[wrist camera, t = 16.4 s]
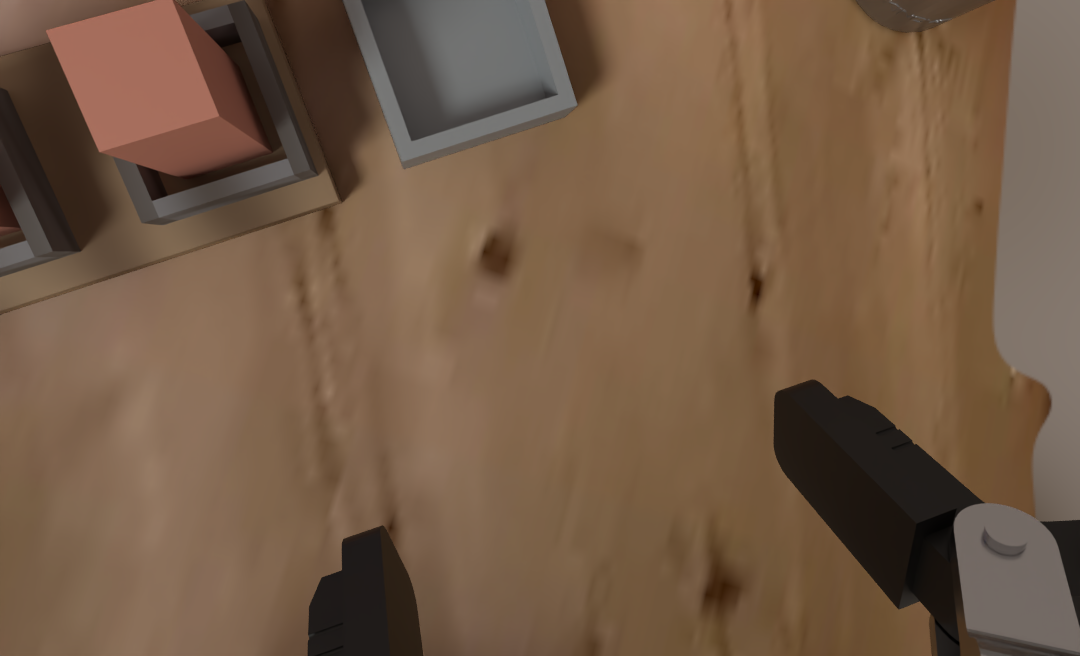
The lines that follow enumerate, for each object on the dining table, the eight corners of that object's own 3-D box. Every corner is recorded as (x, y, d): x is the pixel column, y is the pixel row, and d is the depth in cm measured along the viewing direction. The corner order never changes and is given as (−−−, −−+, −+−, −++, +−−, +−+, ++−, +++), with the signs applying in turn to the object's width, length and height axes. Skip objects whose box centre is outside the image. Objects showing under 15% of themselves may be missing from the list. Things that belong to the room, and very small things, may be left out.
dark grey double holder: (263, -3, 34) (242, -37, 30) (342, 202, 35) (332, 196, 31) (-174, 119, 31) (-260, 100, 27) (-64, 335, 33) (-130, 346, 29)
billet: (239, 66, 32) (170, -4, 24) (273, 152, 33) (219, 116, 24) (149, 92, 32) (45, 30, 23) (186, 179, 32) (98, 152, 24)
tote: (509, -57, 35) (517, -85, 32) (565, 117, 37) (577, 105, 34) (338, -9, 34) (330, -34, 31) (403, 169, 36) (401, 161, 33)
